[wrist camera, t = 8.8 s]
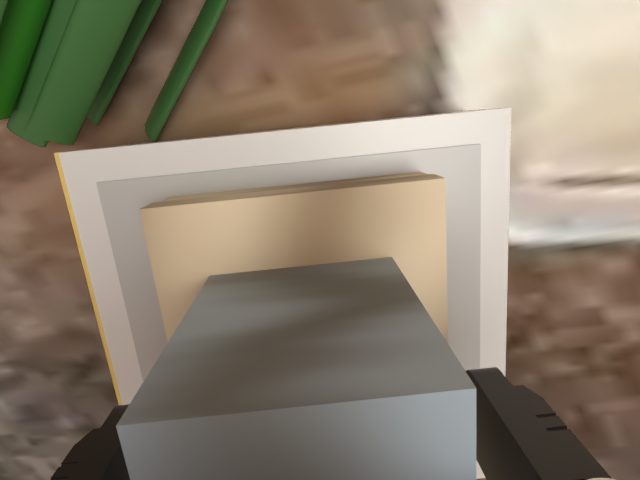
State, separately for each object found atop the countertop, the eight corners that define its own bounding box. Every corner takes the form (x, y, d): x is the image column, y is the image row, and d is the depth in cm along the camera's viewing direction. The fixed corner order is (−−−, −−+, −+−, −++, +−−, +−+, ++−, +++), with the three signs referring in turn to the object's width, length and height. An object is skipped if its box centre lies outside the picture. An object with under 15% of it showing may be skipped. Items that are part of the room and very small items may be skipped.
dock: (464, 110, 17) (513, 107, 13) (466, 410, 21) (504, 479, 17) (107, 146, 17) (47, 153, 13) (173, 440, 21) (142, 517, 17)
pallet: (421, 168, 14) (595, 238, 5) (430, 456, 16) (553, 782, 8) (167, 194, 13) (-42, 304, 5) (222, 478, 16) (142, 827, 8)
